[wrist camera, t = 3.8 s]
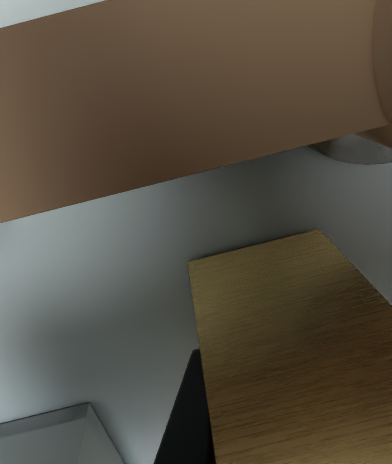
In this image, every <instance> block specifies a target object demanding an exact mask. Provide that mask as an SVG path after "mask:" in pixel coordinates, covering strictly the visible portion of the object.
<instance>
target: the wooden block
mask: <svg viewBox="0 0 392 464" xmlns="http://www.w3.org/2000/svg"><path fill="white" fill-rule="evenodd" d="M187 263H188V270H189V277H190V284H191V291H192V298H193V305H194V312H195V319H196V326H197V333H198V339H199V346H200V353H201V360H202V367H203V374H204V381H205V388H206V395H207V402H208V409H209V416H210V423H211V429H212V436H213V443H214V450H215V457H216V464H392V306H391V305H390V304H389V302H388V301H387V300H386V299H385V298H384V297H383V296H382V295H381V294H380V293H379V292H378V291H377V290H376V289H375V288H374V287H373V286H372V285H371V283H370V282H369V281H368V280H367V279H366V278H365V277H364V276H363V275H362V274H361V273H360V272H359V271H358V270H357V269H356V268H355V267H354V266H353V264H352V263H351V262H350V261H349V260H348V259H347V258H346V257H345V256H344V255H343V254H342V253H341V252H340V251H339V250H338V249H337V248H336V247H335V245H334V244H333V243H332V242H331V241H330V240H329V239H328V238H327V237H326V236H325V235H324V234H323V233H322V232H321V231H320V230H319V229H318V230H314V231H310V232H306V233H302V234H298V235H294V236H290V237H286V238H282V239H278V240H274V241H270V242H266V243H262V244H258V245H254V246H250V247H246V248H242V249H238V250H234V251H230V252H226V253H222V254H218V255H214V256H210V257H206V258H202V259H198V260H194V261H190V262H187Z"/></svg>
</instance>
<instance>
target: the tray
mask: <svg viewBox="0 0 392 464" xmlns="http://www.w3.org/2000/svg"><path fill="white" fill-rule="evenodd" d="M0 464H124V462H123V460H122V458H121V457H120V455H119V453H118V452H117V450H116V448H115V446H114V445H113V443H112V441H111V439H110V438H109V436H108V434H107V433H106V431H105V429H104V427H103V426H102V424H101V422H100V421H99V419H98V417H97V415H96V414H95V412H94V410H93V408H92V407H91V405H90V403H86V404H82V405H77V406H73V407H69V408H65V409H61V410H57V411H53V412H49V413H45V414H41V415H37V416H32V417H28V418H24V419H20V420H16V421H12V422H8V423H4V424H0Z"/></svg>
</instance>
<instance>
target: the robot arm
mask: <svg viewBox="0 0 392 464" xmlns="http://www.w3.org/2000/svg"><path fill="white" fill-rule="evenodd" d="M154 464H216V457H215V450H214V443H213V436H212V429H211V423H210V416H209V409H208V402H207V395H206V388H205V381H204V374H203V367H202V360H201V353H200V348H199V349H195V350H193V351H192V353H191V356H190V359H189V362H188V365H187V368H186V371H185V374H184V377H183V380H182V382H181V385H180V388H179V391H178V394H177V397H176V400H175V403H174V406H173V409H172V411H171V414H170V417H169V420H168V423H167V426H166V429H165V432H164V435H163V438H162V440H161V443H160V446H159V449H158V452H157V455H156V458H155V461H154Z"/></svg>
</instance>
